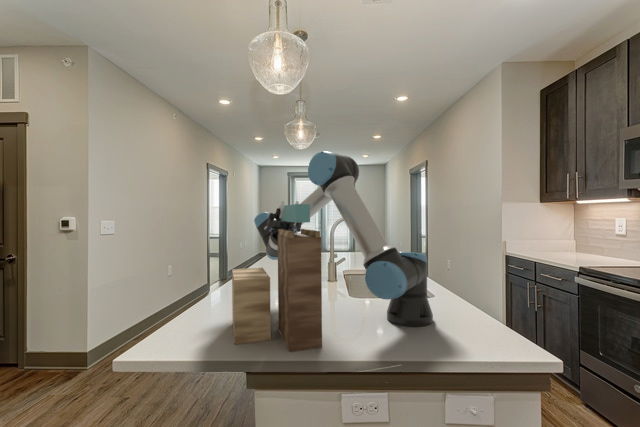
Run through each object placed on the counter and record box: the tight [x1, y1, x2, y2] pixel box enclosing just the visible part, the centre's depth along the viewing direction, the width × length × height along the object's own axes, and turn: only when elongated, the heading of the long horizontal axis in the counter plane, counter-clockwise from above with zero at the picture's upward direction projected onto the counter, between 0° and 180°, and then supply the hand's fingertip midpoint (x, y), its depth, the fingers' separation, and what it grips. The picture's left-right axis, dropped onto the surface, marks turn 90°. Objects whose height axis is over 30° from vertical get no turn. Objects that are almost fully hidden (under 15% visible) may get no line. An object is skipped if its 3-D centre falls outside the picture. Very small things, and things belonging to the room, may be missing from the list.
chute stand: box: [277, 228, 323, 353], centre depth 94 cm, size 17×9×32 cm, turn 17°
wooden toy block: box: [231, 267, 272, 345], centre depth 100 cm, size 18×10×18 cm, turn 17°
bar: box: [278, 203, 311, 223], centre depth 101 cm, size 26×4×5 cm, turn 17°
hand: (290, 204), depth 104 cm, fingers closed on bar, 4 cm apart
